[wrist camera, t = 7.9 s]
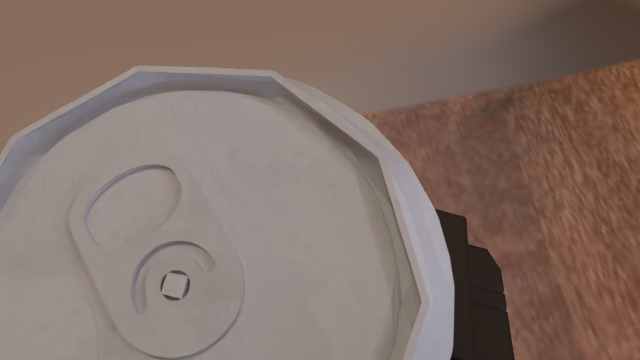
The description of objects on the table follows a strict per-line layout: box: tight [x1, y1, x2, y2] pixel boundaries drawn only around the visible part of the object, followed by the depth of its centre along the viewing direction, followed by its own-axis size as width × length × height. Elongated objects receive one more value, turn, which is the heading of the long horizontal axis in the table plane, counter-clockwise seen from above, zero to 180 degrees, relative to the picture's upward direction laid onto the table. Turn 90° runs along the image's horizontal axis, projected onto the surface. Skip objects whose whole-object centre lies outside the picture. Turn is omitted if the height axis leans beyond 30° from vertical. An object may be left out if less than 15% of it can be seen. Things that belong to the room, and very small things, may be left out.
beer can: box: [0, 65, 455, 360], centre depth 9 cm, size 5×5×12 cm
